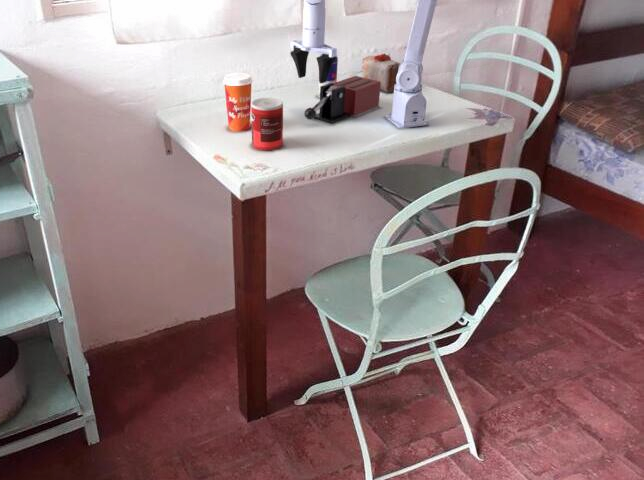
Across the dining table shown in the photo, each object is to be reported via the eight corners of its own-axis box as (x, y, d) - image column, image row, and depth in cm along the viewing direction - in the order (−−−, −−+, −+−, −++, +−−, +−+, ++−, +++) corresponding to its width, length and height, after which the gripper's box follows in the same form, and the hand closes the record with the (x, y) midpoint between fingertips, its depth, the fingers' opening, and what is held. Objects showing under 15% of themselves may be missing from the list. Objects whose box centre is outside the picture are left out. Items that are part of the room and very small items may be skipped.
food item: (356, 83, 208) (358, 51, 203) (376, 79, 211) (379, 47, 206) (385, 94, 198) (388, 61, 193) (405, 89, 201) (409, 56, 196)
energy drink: (336, 99, 196) (338, 58, 190) (318, 99, 196) (320, 58, 190) (334, 93, 201) (336, 53, 194) (317, 94, 201) (318, 53, 194)
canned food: (264, 137, 172) (263, 95, 166) (289, 143, 168) (289, 101, 162) (245, 146, 167) (244, 103, 161) (271, 153, 163) (270, 109, 157)
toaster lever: (312, 122, 176) (309, 113, 173) (303, 120, 178) (301, 111, 175) (341, 95, 180) (339, 86, 177) (332, 93, 181) (330, 84, 179)
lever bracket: (331, 124, 178) (333, 92, 174) (312, 118, 183) (313, 87, 178) (350, 117, 183) (352, 85, 178) (331, 111, 187) (332, 80, 182)
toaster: (354, 118, 182) (355, 90, 178) (328, 110, 188) (329, 83, 184) (379, 108, 188) (381, 81, 184) (353, 101, 194) (355, 74, 190)
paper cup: (229, 135, 175) (227, 81, 167) (221, 125, 181) (219, 73, 173) (257, 131, 176) (256, 78, 169) (249, 121, 182) (248, 70, 175)
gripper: (283, 26, 175) (282, 77, 182) (324, 34, 166) (322, 88, 173) (301, 21, 179) (300, 72, 186) (343, 29, 170) (340, 82, 177)
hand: (312, 79), depth 180 cm, fingers open, 7 cm apart
